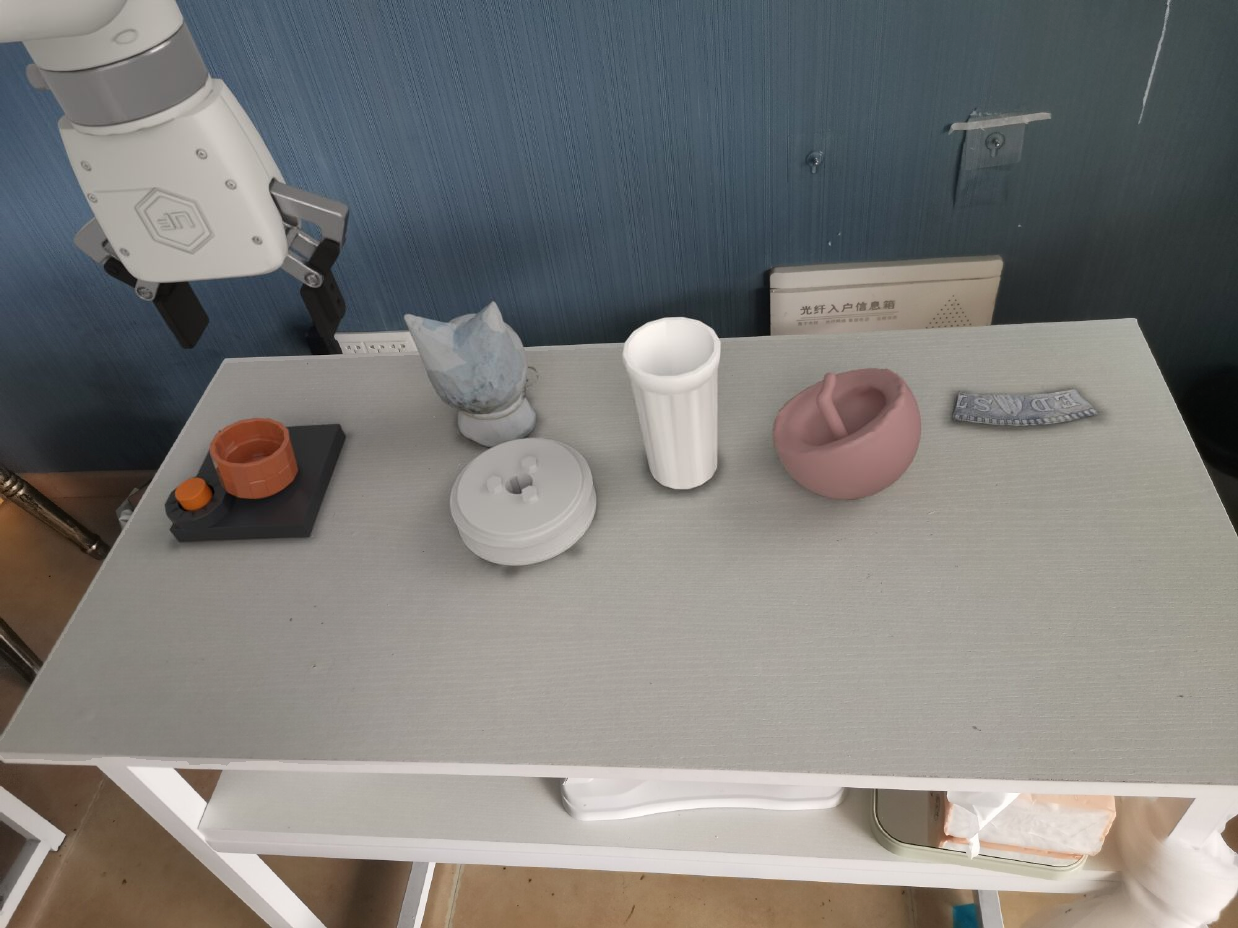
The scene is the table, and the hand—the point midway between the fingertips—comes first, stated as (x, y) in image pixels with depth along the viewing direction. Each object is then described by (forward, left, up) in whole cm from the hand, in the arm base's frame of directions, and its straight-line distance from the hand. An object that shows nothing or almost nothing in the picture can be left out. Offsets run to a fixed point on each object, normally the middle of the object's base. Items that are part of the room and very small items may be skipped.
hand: (265, 330), depth 59 cm
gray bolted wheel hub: (+5, -12, -26) cm, 30 cm away
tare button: (+6, +19, -23) cm, 31 cm away
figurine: (+18, -7, -26) cm, 33 cm away
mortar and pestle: (+8, -40, -26) cm, 49 cm away
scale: (+10, +15, -26) cm, 32 cm away
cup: (+10, -26, -26) cm, 38 cm away
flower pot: (+9, +14, -24) cm, 29 cm away
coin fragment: (+15, -57, -26) cm, 65 cm away
